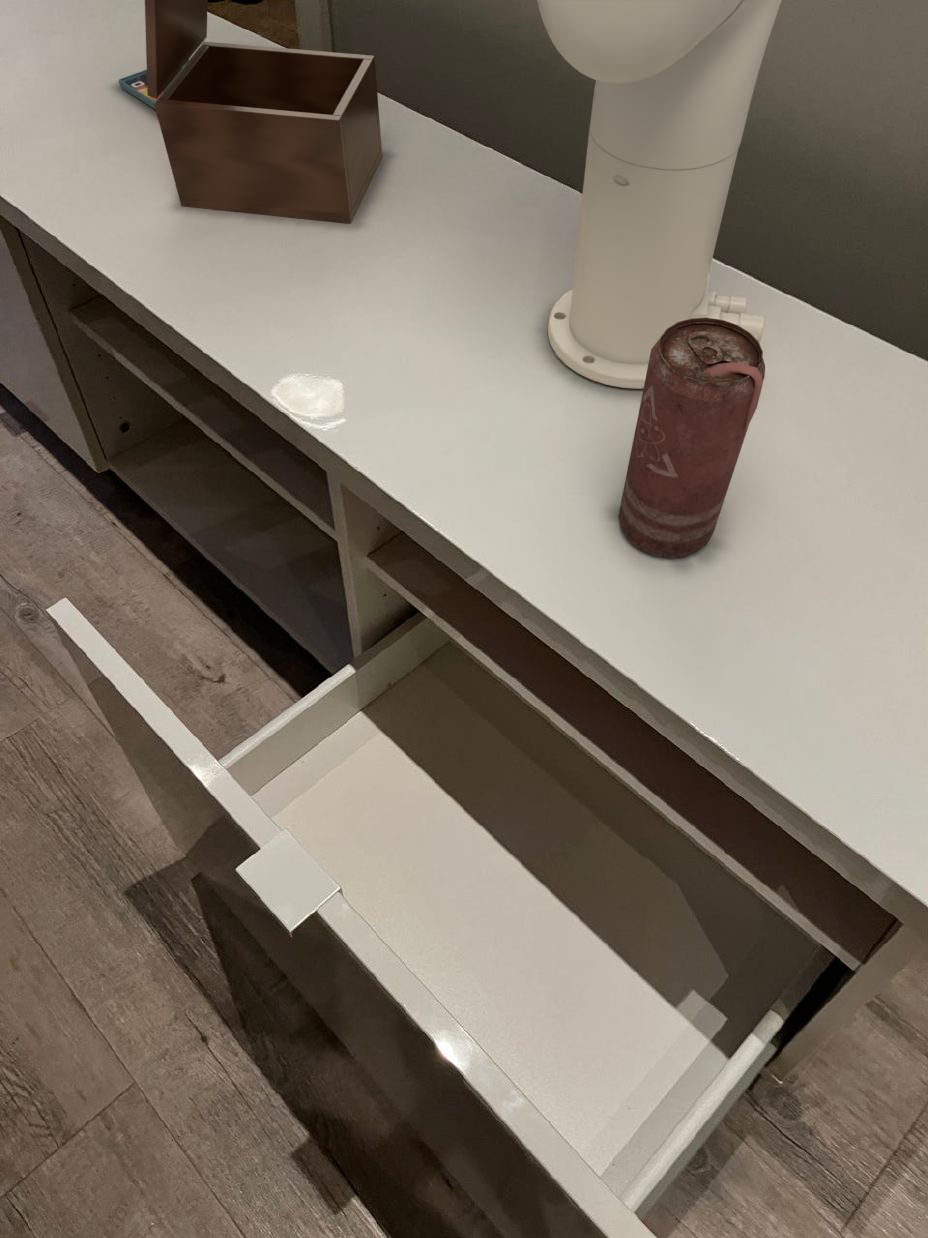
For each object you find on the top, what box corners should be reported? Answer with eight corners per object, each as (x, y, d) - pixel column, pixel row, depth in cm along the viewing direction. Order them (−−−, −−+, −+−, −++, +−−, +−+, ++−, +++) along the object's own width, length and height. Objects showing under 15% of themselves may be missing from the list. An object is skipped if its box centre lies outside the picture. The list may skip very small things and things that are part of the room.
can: (692, 578, 57) (748, 403, 46) (601, 536, 59) (633, 359, 48) (730, 516, 60) (792, 337, 49) (642, 479, 62) (682, 298, 51)
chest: (382, 156, 87) (374, 55, 80) (350, 223, 80) (339, 120, 73) (225, 140, 89) (203, 40, 82) (181, 205, 82) (153, 102, 75)
